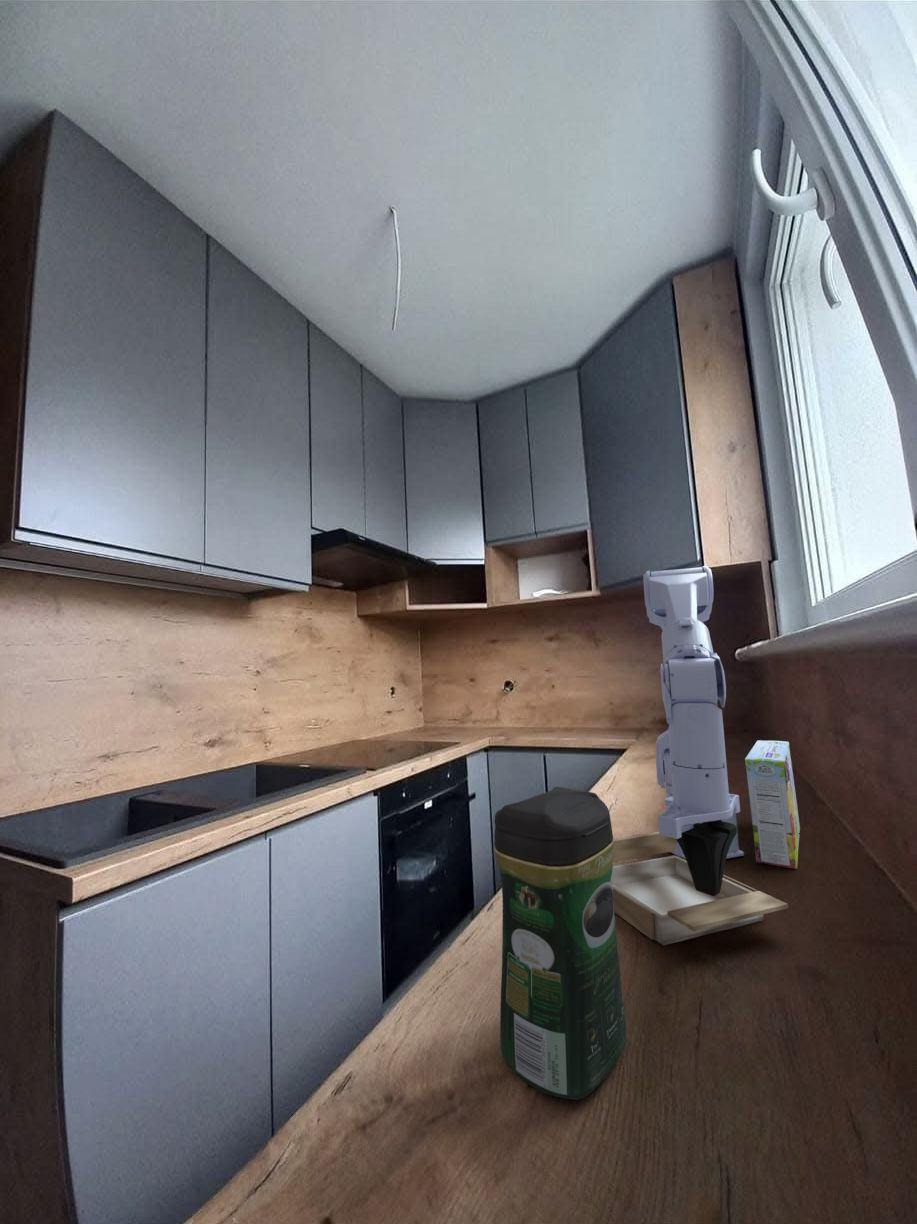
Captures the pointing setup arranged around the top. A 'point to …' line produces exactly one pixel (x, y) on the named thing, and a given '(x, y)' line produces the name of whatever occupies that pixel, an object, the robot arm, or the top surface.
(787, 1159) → the top surface
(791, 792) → the snack box
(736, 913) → the flap
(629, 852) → the flap
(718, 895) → the carton
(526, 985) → the coffee jar
